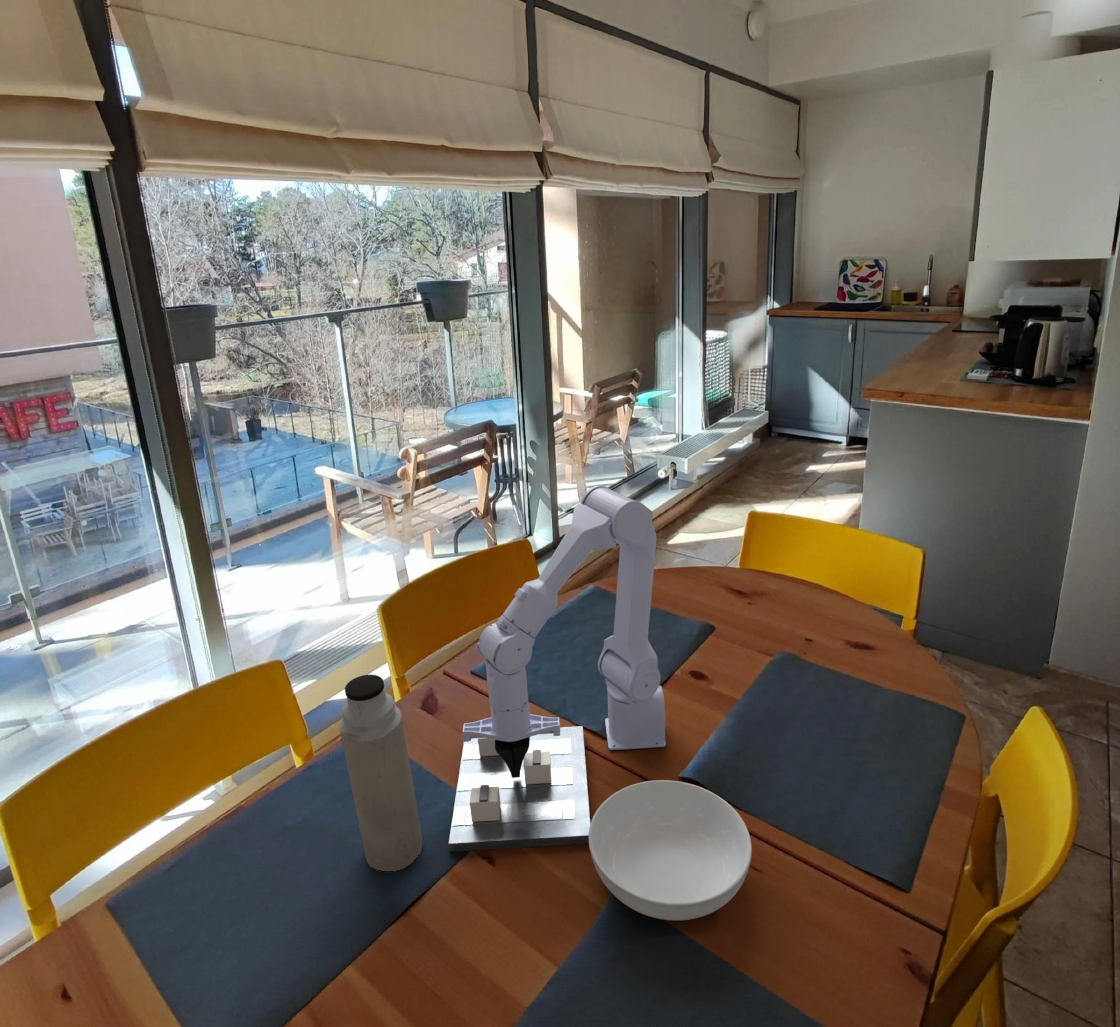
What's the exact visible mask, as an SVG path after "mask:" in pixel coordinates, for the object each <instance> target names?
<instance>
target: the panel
mask: <svg viewBox="0 0 1120 1027" xmlns="http://www.w3.org/2000/svg"><path fill="white" fill-rule="evenodd" d="M583 727H584V726H582V725H578V726H562V727H561V726H560V736H553V734H538V735H534V736H531V737H530V746H529V749H528V751H527V752H533V750H541V752H543V751H550V760H551V783H538V784H525V776H524V759H523V762H522V765H521V770H520V777H519V778H512V777H511V773H510V771H509V769H508V766H507V765H506V763H505V761H504V760H503V759H502V757H501V756H500V755H494V756H480V755H479V747H478V738H473V739H471V741H469V742H464V741H463V746H462V753H461V759H460V765H459V766H460V767H459V771H458V772H459V774H458V779H457V785H456V793H455V799H454V806H453V812H452V818H451V826H450V831H449V832H450V833H449V837H448V850H449V852H466V851H467V852H470V851H484V850H497V849H498V850H500V849H502V850H503V849H515V848H516V849H517V848H533V847H534V848H536V847H549V846H550V847H553V846H570V845H582V844H583V845H586V844H589V828H590V824H591V819H590V815H591V814H590V805H589V804H590V802H589V792H588V780H587V779H588V778H587V777H588V776H587V764H586V755H585V754H586V752H585V739H584V728H583ZM481 785H489V787H493V786H499V794H500V803H501V808H500V820H493V821H476V822H472V818H471V810H470V795H471V788H476V787H481Z"/></svg>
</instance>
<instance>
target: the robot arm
mask: <svg viewBox="0 0 1120 1027" xmlns="http://www.w3.org/2000/svg"><path fill="white" fill-rule="evenodd" d="M653 515H654V512H653V511H652V510H651V509H650V508H648V506H646V505H645V504H644V503H643V502H641V501H638V500H634V499H631V498H629V497H628V496H625V495H623V494H621V493H619V492H616V491H615V490H612V489H611V488H610V487H607V486H605V485H600V484H599V485H595V486H593V487H590V488H589V489H588V490H586V492H585V493H584V494H583V497H582V498H581V500H580V502H579V503H578V504H577V505H576V506H575V507H574V509H573V512H572V520H571V524H570V526H569V528H568V529H567V531H566V533H565V535H564V536H563V538H562V539H561V541H560V543H559V544H558V546H557V548H556V549H555V550H554V553H553V554H552V555H551V557H550V558H549V560H548V562H547V563H546V565H545V566H544V568H543V570H542V571H541V574H540V575H539V577H538V578H535V579H533V580H530V581H526V582H525V583H524V584H523V585H522V587H521V588H520V587H519V588H518V589H517V590H516V592H515V593H514V596H515V597H514V598H513V599H512V600H511V602H510V604H509V605H508V606H507V608H506V609H505V610H504V612H503V613H502V615H501V616H500V617H499V618H498V620H496V622H493V623H492V624H490V625H488V626H486V627H485V628H484V629H483V631H482V632H481V634H480V636H479V640H478V642H477V643H476V644H475V647H476V650H477V652H478V653H479V654H480V655H481V656H482V657H484V659H485V660H484V661H485V670H486V681H487V690H488V691H487V692H488V700H489V708H490V709H489V710H490V717H486V718H483V719H481V720H477V721H473V722H472V721H471V722H466V723H465V722H464V723H463V724H462V725H463V726H462V738H463V743H464V742H469V741H471V739H473V738H489V739H494V740H495V750H496V752H497V753H498V754H499V755H500V756H501V757H502V759H503V760H504V761H505V763H506V765H507V766H508V769H509V771H510V773H511V777H512V778H519V777H520V770H521V765H522V762H523V759H524V757H525V755H526V753H527V751H528V749H529V746H530V737H531V736H534V735H538V734H553V736H560V727H561V721H560V719H561V718H560V717H559V716H557V717H552V716H551V717H549V716H544V715H543V716H542V715H537V714H532V713H530V704H529V693H528V691H529V690H528V682H527V681H528V680H527V670H526V665H527V664H529V662H530V661H531V659H532V656H533V646H534V645H535V643H536V636H537V635H539V633H540V631H541V630H542V628H543V627H544V626H545V624H546V623H547V622H548V620H549V619H550V617H551V615H552V614H553V613H554V611H555V610H556V608H557V607H558V604H559V603H558V592H559V591H560V589H561V588H562V587H564V585H565V584H566V582H567V581H568V580H569V579H570V577H571V576H572V575H573V573H575V572H576V570H577V569H578V568H579V566H580V565H582V563H583V562H584V561H585V559H586V558H587V557H588V555H590V554H591V552H593V551H599V550H608V549H609V550H610V549H614V548H617V545H616V543H617V544H618V545H619V556H618V557H619V558H618V570H617V583H616V584H617V585H616V597H615V598H616V600H615V609H614V610H615V612H614V622H613V623H614V624H613V625H614V626H613V635H610V636H609V637H607V638H605V639H604V641H603V642H604V643H603V649H602V651H601V654H600V656H599V658H598V661H597V669H598V671H599V673H600V675H601V676H603V677H604V678H605V685H606V691H607V714H608V717H607V718H604V724H605V731H606V740H607V747H608V750H609V751H619V750H632V749H633V750H634V749H636V750H637V749H649V748H650V749H651V748H652V749H654V748H665V747H666V746H667V743H666V707H665V706H666V705H665V703H666V702H665V697H664V696H665V695H664V691H663V690H664V689H663V687H662V685H660V684H661V673H660V671H659V668H658V660H659V659H658V658H659V657H658V656H657V654H656V652H655V650H654V648H653V647H652V645H651V643H650V642H649V639H648V638H649V629H650V628H649V627H650V617H651V615H650V614H651V606H652V595H653V594H652V593H653V584H654V570H655V562H656V549H657V532H656V530H655V527H654V524H653ZM615 542H616V543H615Z"/></svg>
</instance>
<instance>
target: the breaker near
mask: <svg viewBox="0 0 1120 1027" xmlns="http://www.w3.org/2000/svg"><path fill="white" fill-rule="evenodd" d="M500 808H501V803H500V794H499V786H493V787H489V785H481V787H476V788H471V795H470V810H471V818H472V822H476V821H493V820H500Z"/></svg>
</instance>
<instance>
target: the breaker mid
mask: <svg viewBox="0 0 1120 1027" xmlns="http://www.w3.org/2000/svg"><path fill="white" fill-rule="evenodd" d="M524 776H525V784H538V783H551V760H550V751H543V752H541V750H533V752H527V753H526V755H525V757H524Z"/></svg>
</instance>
